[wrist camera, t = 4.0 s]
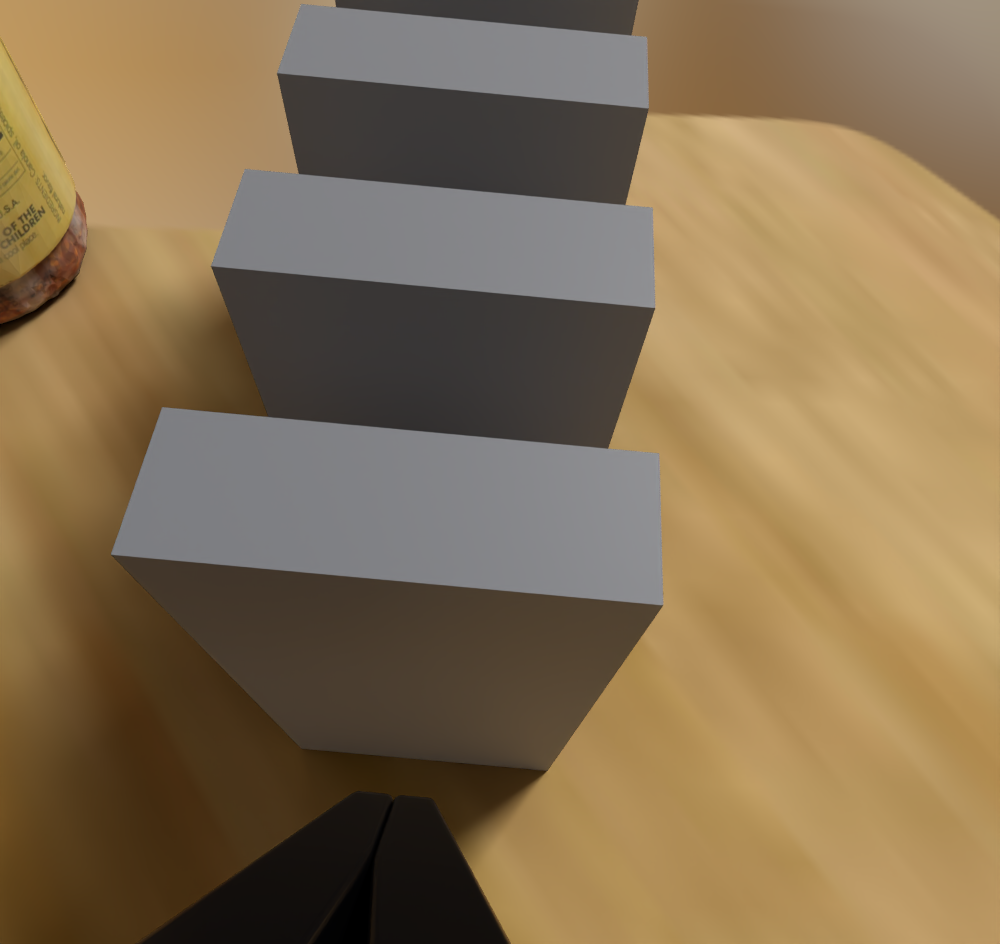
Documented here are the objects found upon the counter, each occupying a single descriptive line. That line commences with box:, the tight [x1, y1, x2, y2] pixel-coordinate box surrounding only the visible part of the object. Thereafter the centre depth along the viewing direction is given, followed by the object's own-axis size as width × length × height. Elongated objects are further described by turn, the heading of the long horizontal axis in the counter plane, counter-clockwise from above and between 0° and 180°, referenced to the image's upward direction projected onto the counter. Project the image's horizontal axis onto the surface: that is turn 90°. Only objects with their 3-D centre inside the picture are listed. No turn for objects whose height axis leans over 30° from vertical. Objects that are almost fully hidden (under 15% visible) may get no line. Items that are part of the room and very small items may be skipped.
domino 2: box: [277, 4, 649, 205], centre depth 15 cm, size 2×5×10 cm, turn 85°
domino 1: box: [335, 0, 638, 36], centre depth 17 cm, size 2×5×10 cm, turn 85°
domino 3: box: [211, 169, 655, 449], centre depth 13 cm, size 2×5×10 cm, turn 86°
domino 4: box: [111, 407, 663, 771], centre depth 12 cm, size 2×5×10 cm, turn 86°
